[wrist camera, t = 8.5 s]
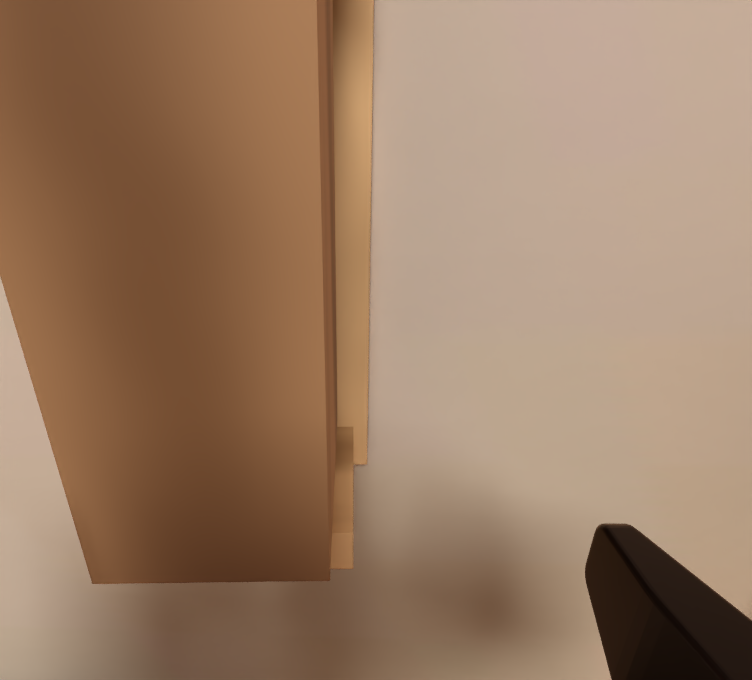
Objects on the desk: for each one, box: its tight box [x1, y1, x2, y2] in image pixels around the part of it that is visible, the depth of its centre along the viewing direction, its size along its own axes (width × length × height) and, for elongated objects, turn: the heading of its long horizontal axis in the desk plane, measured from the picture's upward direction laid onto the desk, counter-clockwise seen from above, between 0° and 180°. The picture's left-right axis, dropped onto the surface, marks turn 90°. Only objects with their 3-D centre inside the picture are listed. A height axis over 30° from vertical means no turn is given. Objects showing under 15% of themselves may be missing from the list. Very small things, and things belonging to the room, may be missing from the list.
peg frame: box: [330, 0, 374, 569], centre depth 14 cm, size 7×19×6 cm, turn 179°
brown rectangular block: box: [0, 0, 337, 584], centre depth 12 cm, size 5×12×6 cm, turn 179°
